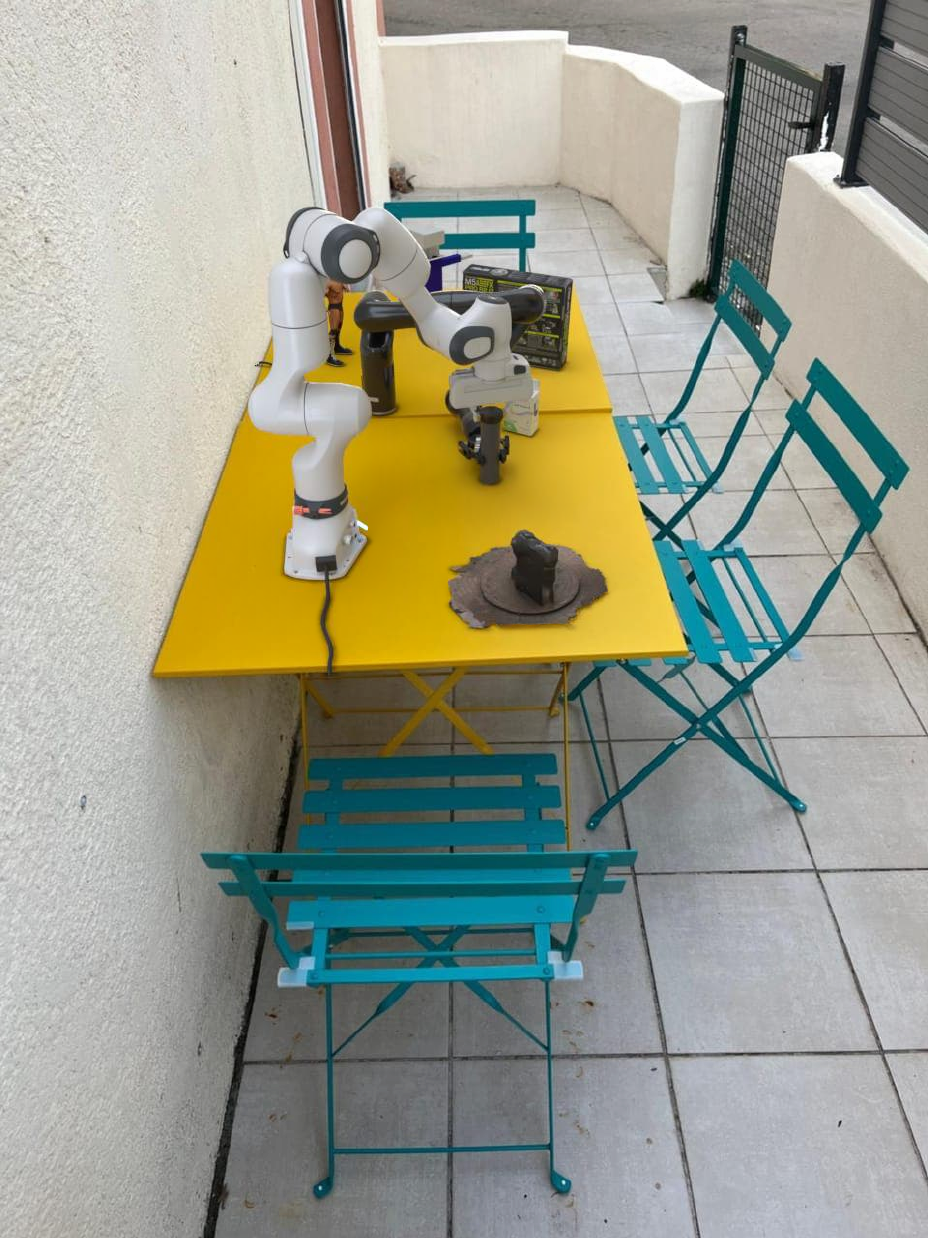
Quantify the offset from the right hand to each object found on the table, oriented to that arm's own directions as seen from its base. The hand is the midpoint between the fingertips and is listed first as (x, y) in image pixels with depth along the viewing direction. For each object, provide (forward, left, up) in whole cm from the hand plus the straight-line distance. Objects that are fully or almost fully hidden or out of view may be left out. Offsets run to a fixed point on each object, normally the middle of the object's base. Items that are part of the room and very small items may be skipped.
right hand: (492, 461), depth 221 cm
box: (-55, +54, -7) cm, 77 cm away
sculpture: (+37, -21, -7) cm, 43 cm away
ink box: (-18, +25, -7) cm, 31 cm away
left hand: (-2, +1, +10) cm, 11 cm away
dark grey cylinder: (-2, +1, -7) cm, 7 cm away
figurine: (-90, +10, -7) cm, 91 cm away
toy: (-97, +51, -7) cm, 110 cm away
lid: (-2, +1, +12) cm, 12 cm away
